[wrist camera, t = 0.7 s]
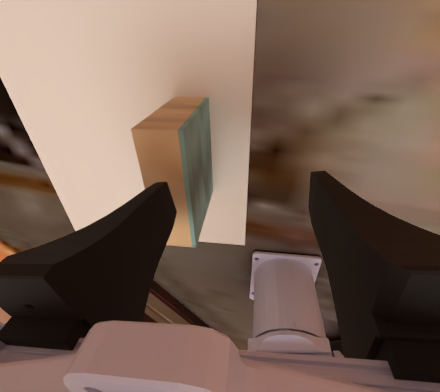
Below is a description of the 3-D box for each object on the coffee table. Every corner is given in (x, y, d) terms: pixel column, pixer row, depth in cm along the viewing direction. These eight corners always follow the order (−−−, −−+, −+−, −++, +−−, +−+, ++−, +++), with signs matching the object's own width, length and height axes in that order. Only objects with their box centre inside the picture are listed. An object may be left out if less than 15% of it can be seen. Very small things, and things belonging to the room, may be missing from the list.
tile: (213, 190, 24) (196, 247, 18) (184, 188, 25) (158, 244, 18) (208, 97, 19) (182, 130, 13) (173, 97, 20) (130, 129, 13)
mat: (245, 242, 29) (244, 245, 28) (77, 229, 31) (75, 231, 31) (258, -29, 15) (258, -30, 15) (-38, -11, 18) (-43, -12, 18)
